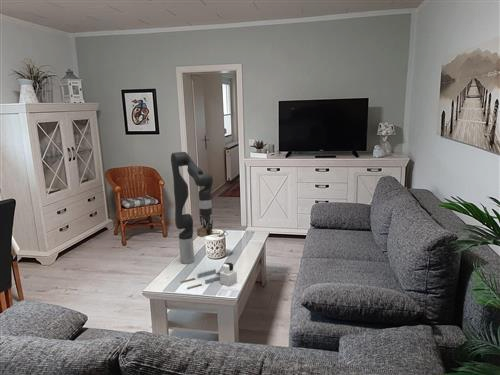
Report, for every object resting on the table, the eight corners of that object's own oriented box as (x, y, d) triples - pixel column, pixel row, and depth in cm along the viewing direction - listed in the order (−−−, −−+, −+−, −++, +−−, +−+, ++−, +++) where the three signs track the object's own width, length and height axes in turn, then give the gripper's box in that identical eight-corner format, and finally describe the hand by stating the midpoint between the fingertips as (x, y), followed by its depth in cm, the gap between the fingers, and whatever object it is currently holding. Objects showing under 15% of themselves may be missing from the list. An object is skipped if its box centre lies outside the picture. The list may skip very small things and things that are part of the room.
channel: (197, 277, 235) (197, 273, 235) (215, 272, 241) (215, 269, 241) (205, 284, 225) (205, 280, 225) (223, 279, 232) (223, 275, 231)
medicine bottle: (228, 279, 231) (227, 260, 229) (237, 282, 227) (236, 263, 224) (220, 283, 226) (219, 264, 224) (229, 286, 221) (228, 267, 219)
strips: (180, 282, 229) (180, 281, 229) (194, 278, 234) (194, 277, 233) (187, 289, 220) (187, 288, 219) (202, 285, 224) (201, 284, 224)
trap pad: (216, 273, 240) (216, 273, 240) (221, 271, 242) (221, 271, 242) (222, 278, 233) (222, 277, 233) (228, 276, 235) (228, 276, 235)
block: (197, 235, 231) (196, 228, 230) (209, 232, 235) (208, 225, 234) (200, 237, 227) (200, 230, 226) (212, 234, 231) (212, 227, 231)
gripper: (216, 208, 225) (217, 235, 228) (205, 203, 236) (207, 230, 240) (204, 210, 221) (206, 238, 224) (194, 205, 233) (196, 232, 236)
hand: (206, 233), depth 232 cm, fingers closed on block, 4 cm apart
